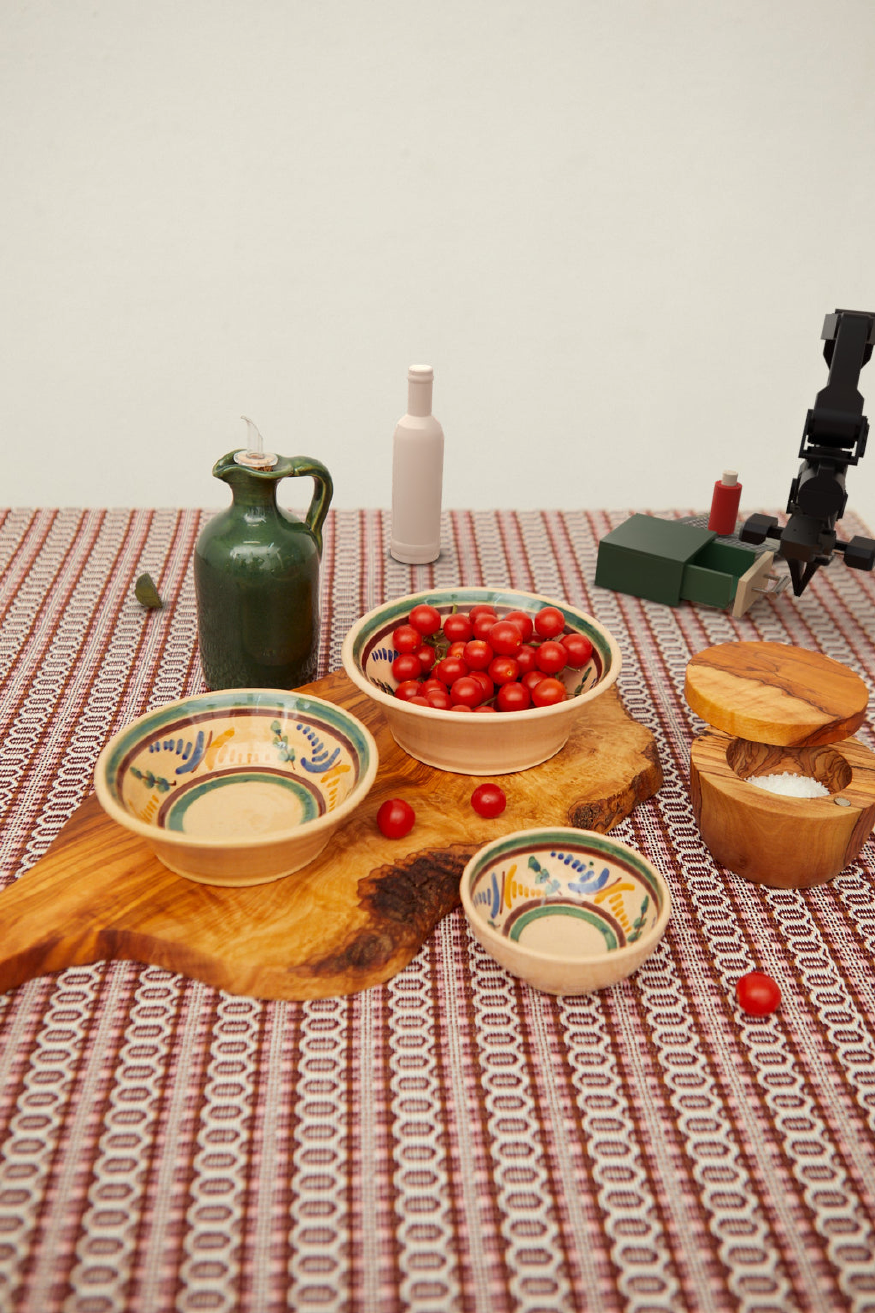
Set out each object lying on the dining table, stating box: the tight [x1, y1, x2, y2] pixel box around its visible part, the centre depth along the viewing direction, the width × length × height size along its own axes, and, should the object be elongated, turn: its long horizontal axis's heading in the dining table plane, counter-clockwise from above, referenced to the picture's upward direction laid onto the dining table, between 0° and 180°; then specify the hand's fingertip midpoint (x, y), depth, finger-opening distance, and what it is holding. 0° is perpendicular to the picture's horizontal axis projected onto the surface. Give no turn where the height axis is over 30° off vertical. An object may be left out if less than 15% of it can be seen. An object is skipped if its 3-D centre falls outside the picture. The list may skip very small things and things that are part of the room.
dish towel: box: [668, 512, 782, 562], centre depth 183 cm, size 19×18×3 cm
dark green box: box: [593, 512, 717, 609], centre depth 168 cm, size 13×14×7 cm
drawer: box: [680, 540, 792, 618], centre depth 163 cm, size 16×13×6 cm
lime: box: [133, 572, 164, 609], centre depth 154 cm, size 4×5×5 cm
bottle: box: [389, 363, 445, 565], centre depth 168 cm, size 8×8×30 cm
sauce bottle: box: [708, 469, 743, 535], centre depth 180 cm, size 4×4×10 cm
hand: (797, 595), depth 159 cm, fingers closed
